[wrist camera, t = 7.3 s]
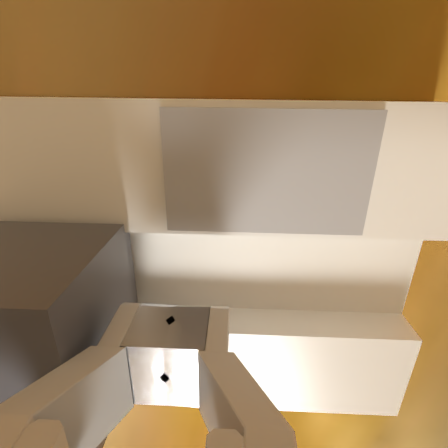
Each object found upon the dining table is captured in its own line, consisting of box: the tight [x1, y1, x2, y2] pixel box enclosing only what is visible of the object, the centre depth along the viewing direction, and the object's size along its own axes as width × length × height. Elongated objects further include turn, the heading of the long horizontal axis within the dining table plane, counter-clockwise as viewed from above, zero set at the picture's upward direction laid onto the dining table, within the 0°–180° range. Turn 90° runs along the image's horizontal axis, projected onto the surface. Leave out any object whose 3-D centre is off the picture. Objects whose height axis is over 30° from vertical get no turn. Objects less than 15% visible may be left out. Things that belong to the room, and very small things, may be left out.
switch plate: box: [0, 96, 448, 416], centre depth 12 cm, size 28×12×3 cm, turn 89°
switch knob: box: [0, 221, 138, 448], centre depth 9 cm, size 5×5×6 cm
